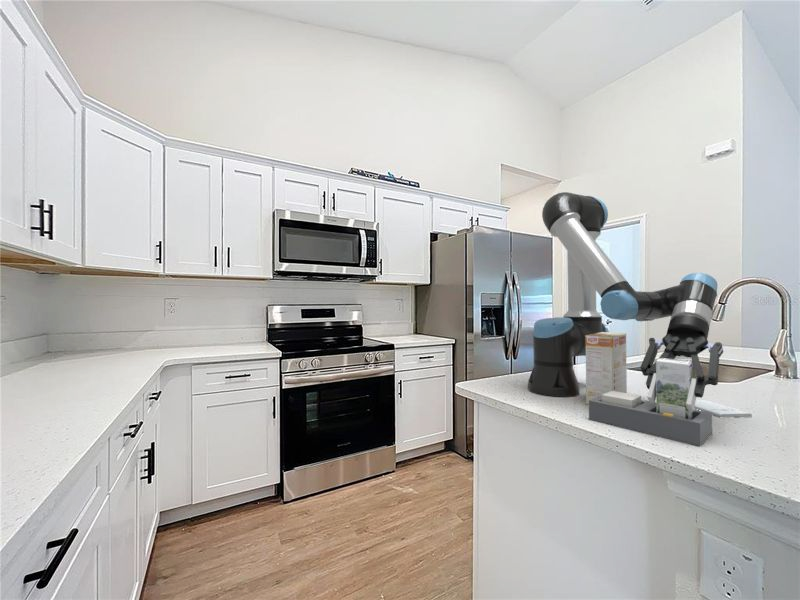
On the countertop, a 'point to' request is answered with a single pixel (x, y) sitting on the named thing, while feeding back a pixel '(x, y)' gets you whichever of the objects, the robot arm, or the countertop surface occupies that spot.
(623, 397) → the gray desk organizer tray
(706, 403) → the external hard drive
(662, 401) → the syrup box
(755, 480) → the countertop surface
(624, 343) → the coffeecake box
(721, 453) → the countertop surface
